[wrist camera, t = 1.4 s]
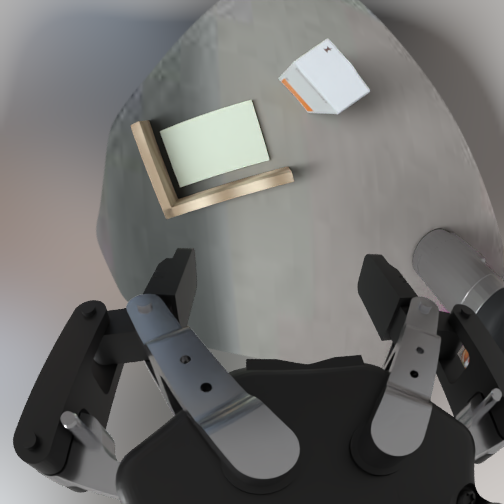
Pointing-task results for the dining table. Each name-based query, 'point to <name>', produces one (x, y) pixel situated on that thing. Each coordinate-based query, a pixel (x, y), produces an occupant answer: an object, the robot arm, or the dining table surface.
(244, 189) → the wooden angle bracket
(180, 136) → the mat
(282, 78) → the skincare box
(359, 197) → the dining table surface
